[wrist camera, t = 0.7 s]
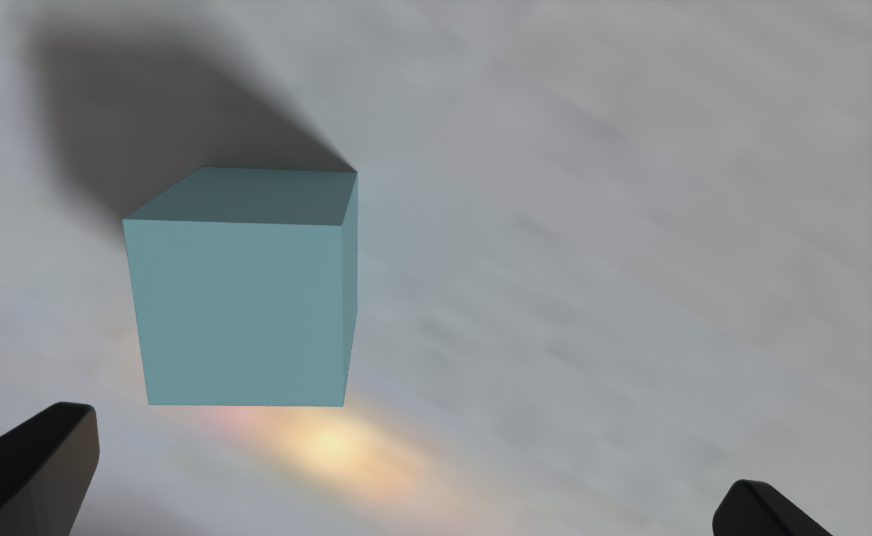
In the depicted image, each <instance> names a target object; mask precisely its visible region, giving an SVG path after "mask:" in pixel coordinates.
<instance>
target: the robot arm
mask: <svg viewBox="0 0 872 536" xmlns="http://www.w3.org/2000/svg"><path fill="white" fill-rule="evenodd" d="M99 453H100V447H99V438H98V428H97V418H96V412H95V409H94V408H93V407H92V406H91V405H88V404H81V403H72V402H58V403H55V404H53V405H51V406H49V407H48V408H46V409H45V410H43V411H41V412H40V413H38V414H36V415H35V416H33V417H31V418H30V419H28V420H27V421H25V422H23V423H22V424H20V425H18V426H17V427H15V428H13V429H12V430H10V431H9V432H7V433H5V434H4V435H2V436H0V536H69V534H70V531H71V529H72V526H73V524H74V521H75V519H76V516H77V514H78V512H79V509H80V507H81V504H82V502H83V499H84V497H85V494H86V492H87V490H88V487H89V485H90V482H91V480H92V477H93V475H94V473H95V470H96V467H97V464H98V460H99ZM712 528H713V534H714V536H833V535H831V534H830V533H829V532H828V531H826V530H825V529H824V528H823V527H821V526H820V525H819V524H818V523H817V522H815V521H814V520H813V519H812V518H810V517H809V516H808V515H807V514H805V513H804V512H803V511H802V510H801V509H799V508H798V507H797V506H796V505H794V504H793V503H792V502H791V501H789V500H788V499H787V498H786V497H785V496H783V495H782V494H781V493H780V492H778V491H777V490H776V489H775V488H773V487H772V486H771V485H769V484H768V483H765V482H762V481H753V480H745V479H741V480H738V481H736V482H735V483H734V484H733V485H732V486H731V488H730V490H729V491H728V493H727V494H726V496H725V497H724V499H723V501H722V502H721V504H720V505H719V507H718V509H717V510H716V512H715V514H714V516H713V522H712Z"/></svg>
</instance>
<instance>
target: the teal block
mask: <svg viewBox="0 0 872 536" xmlns="http://www.w3.org/2000/svg"><path fill="white" fill-rule="evenodd" d="M122 221H123V228H124V235H125V243H126V250H127V257H128V264H129V271H130V278H131V285H132V292H133V299H134V306H135V313H136V320H137V327H138V334H139V341H140V349H141V356H142V363H143V370H144V377H145V384H146V391H147V398H148V405H210V406H330V407H343V404H344V397H345V391H346V384H347V377H348V370H349V363H350V356H351V350H352V343H353V336H354V329H355V322H356V316H357V222H358V172H333V171H306V170H278V169H251V168H224V167H200V168H198V169H197V170H195V171H194V172H192V173H191V174H189V175H188V176H186V177H185V178H183V179H182V180H180V181H179V182H177V183H176V184H174V185H173V186H171V187H170V188H168V189H167V190H165V191H164V192H162V193H161V194H159V195H158V196H156V197H155V198H153V199H152V200H150V201H149V202H147V203H146V204H144V205H143V206H141V207H140V208H138V209H137V210H135V211H134V212H132V213H131V214H129V215H128V216H126V217H125V218H123V219H122Z"/></svg>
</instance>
